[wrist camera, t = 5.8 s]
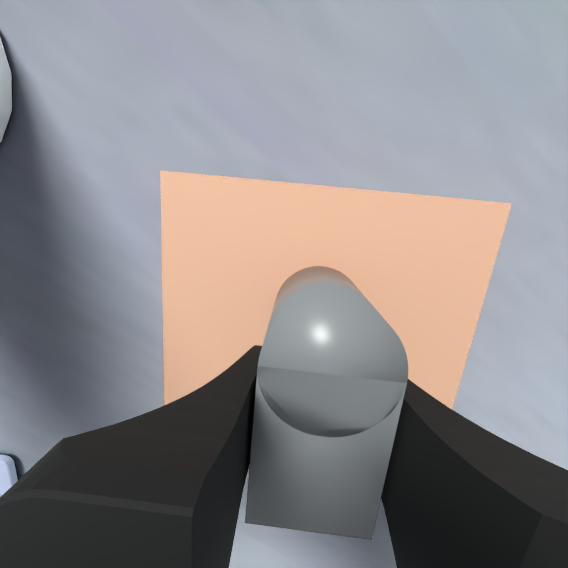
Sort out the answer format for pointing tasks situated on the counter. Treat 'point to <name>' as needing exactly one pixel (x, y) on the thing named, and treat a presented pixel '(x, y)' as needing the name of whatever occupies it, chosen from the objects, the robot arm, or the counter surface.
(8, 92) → the bottle
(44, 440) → the counter surface
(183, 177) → the plate
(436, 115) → the counter surface
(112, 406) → the counter surface
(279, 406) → the plug
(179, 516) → the robot arm
